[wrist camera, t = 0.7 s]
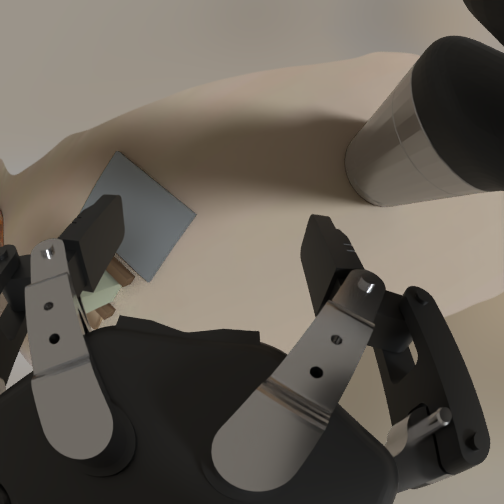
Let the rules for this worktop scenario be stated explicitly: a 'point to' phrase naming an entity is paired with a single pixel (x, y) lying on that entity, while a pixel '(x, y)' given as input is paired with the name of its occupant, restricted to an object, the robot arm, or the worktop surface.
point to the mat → (143, 215)
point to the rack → (122, 278)
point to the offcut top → (93, 319)
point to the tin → (1, 230)
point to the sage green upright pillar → (101, 293)
